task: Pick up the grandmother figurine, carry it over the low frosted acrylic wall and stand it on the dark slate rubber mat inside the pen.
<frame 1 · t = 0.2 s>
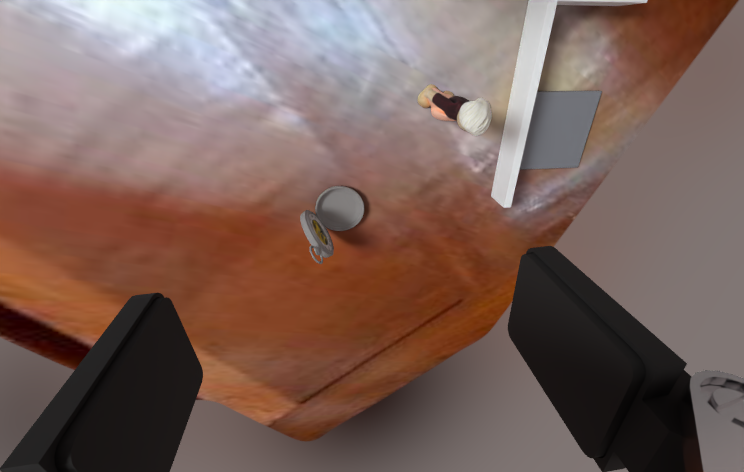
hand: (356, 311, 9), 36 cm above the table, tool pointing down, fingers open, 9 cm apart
pocket watch: (331, 209, 47), on the table
grandmother figurine: (439, 101, 42), on the table
slate mat: (552, 131, 45), on the table
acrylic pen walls: (511, 108, 43), resting in slate mat
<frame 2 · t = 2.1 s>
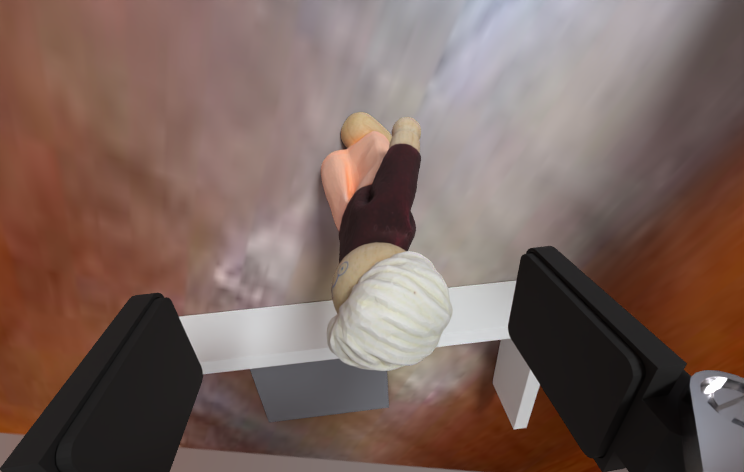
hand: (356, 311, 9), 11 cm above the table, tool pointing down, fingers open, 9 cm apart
grandmother figurine: (357, 166, 18), on the table
slate mat: (321, 371, 26), on the table
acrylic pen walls: (353, 303, 23), resting in slate mat
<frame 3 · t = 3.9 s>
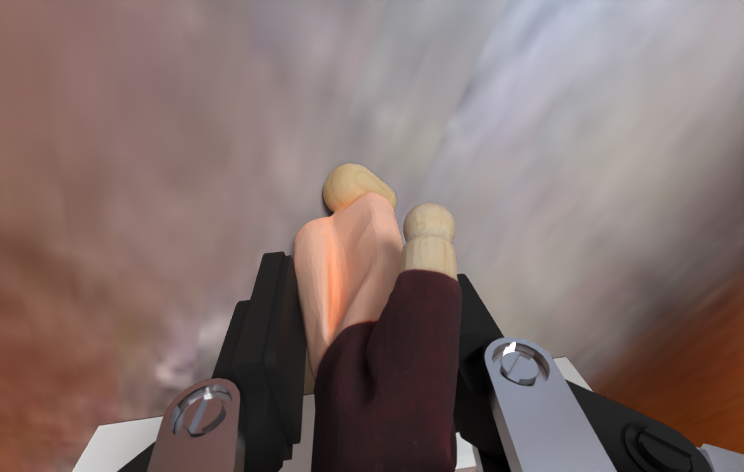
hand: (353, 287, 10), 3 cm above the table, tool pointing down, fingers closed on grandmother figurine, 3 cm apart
grandmother figurine: (347, 233, 13), on the table, touching gripper
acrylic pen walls: (346, 395, 18), resting in slate mat
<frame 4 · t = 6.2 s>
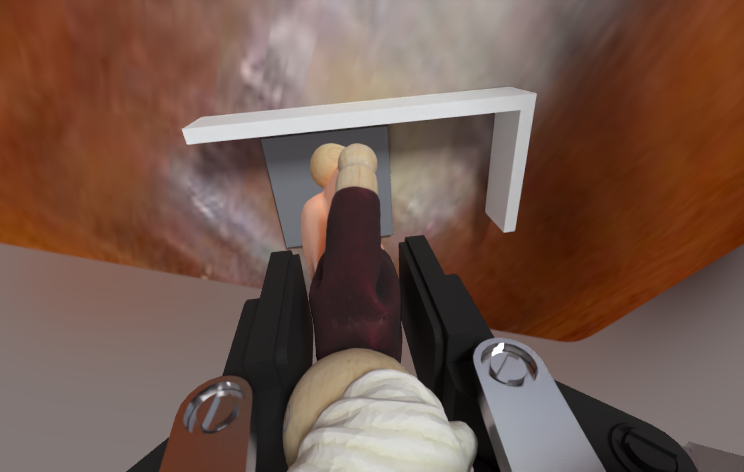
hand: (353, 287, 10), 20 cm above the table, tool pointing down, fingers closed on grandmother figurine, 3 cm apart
grandmother figurine: (345, 204, 15), point 14 cm above the table, touching gripper
slate mat: (333, 189, 30), on the table
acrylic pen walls: (360, 108, 26), resting in slate mat
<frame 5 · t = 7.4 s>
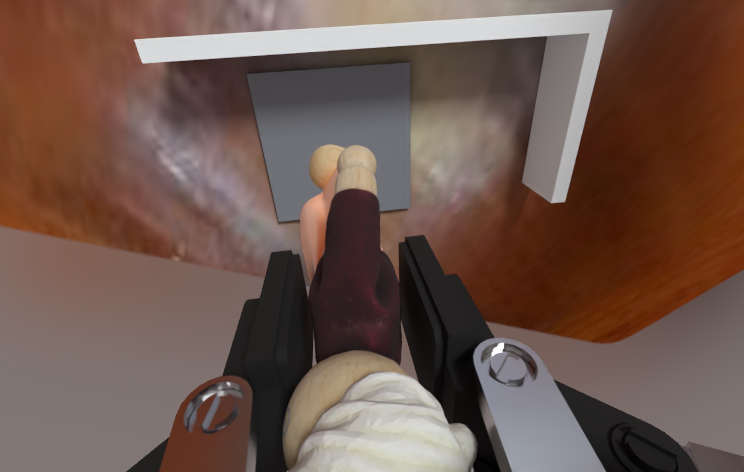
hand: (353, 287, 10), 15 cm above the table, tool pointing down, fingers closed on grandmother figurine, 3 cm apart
grandmother figurine: (344, 205, 15), point 9 cm above the table, touching gripper
slate mat: (338, 147, 24), on the table
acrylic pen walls: (376, 36, 21), resting in slate mat
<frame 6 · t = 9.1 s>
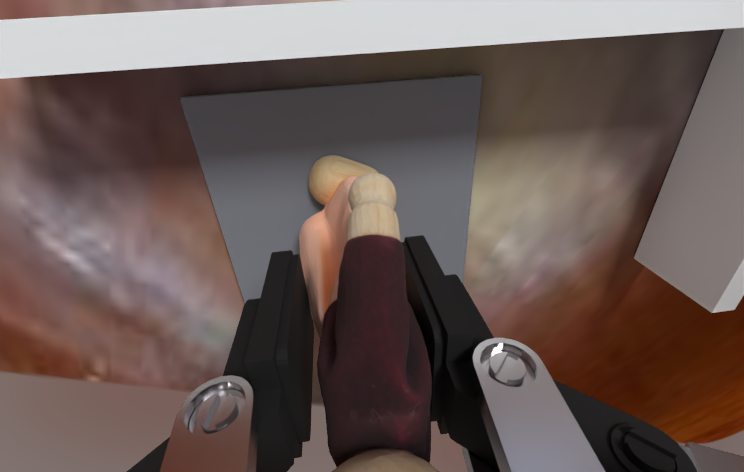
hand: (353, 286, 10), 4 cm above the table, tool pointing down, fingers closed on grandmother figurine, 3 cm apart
grandmother figurine: (347, 220, 14), resting on slate mat, touching gripper
slate mat: (349, 216, 14), on the table
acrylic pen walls: (423, 27, 11), resting in slate mat
when the fingers open (4 cm above the table, at t = 9.6 s): grandmother figurine stays where it is, resting on slate mat.
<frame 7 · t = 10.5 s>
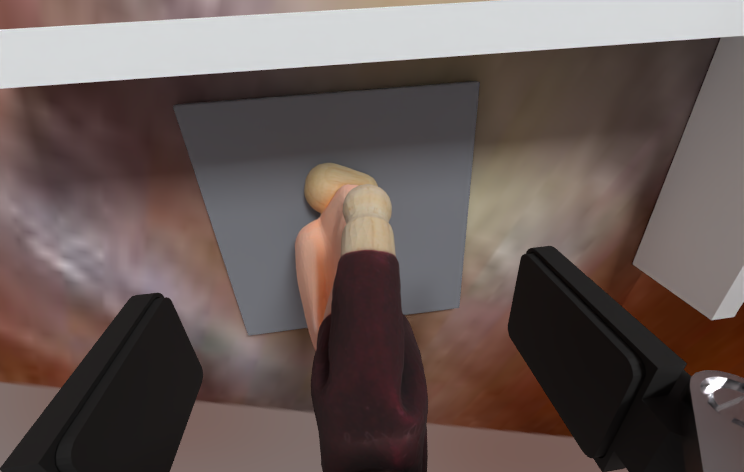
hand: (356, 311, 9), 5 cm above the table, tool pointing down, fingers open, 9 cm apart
grandmother figurine: (344, 227, 14), resting on slate mat
slate mat: (345, 223, 14), on the table
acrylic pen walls: (419, 34, 11), resting in slate mat
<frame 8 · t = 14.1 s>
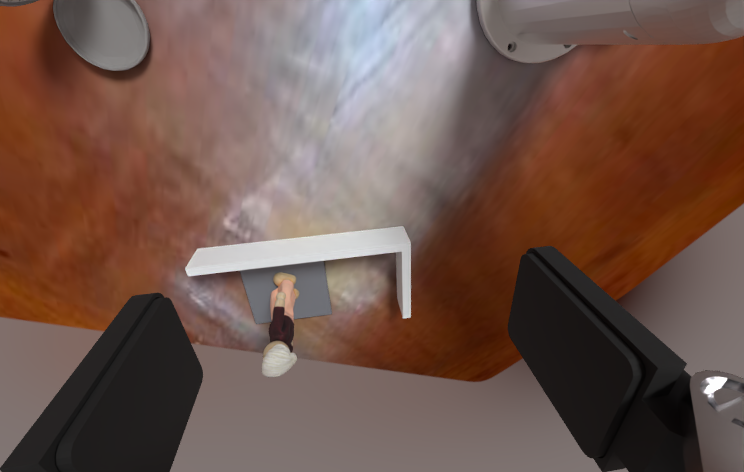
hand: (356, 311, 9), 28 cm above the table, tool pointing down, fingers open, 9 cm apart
pocket watch: (98, 10, 28), on the table
grandmother figurine: (287, 288, 43), resting on slate mat
slate mat: (287, 287, 43), on the table
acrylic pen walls: (303, 240, 40), resting in slate mat
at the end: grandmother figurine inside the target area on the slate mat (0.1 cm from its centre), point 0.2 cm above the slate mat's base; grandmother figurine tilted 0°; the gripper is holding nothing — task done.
